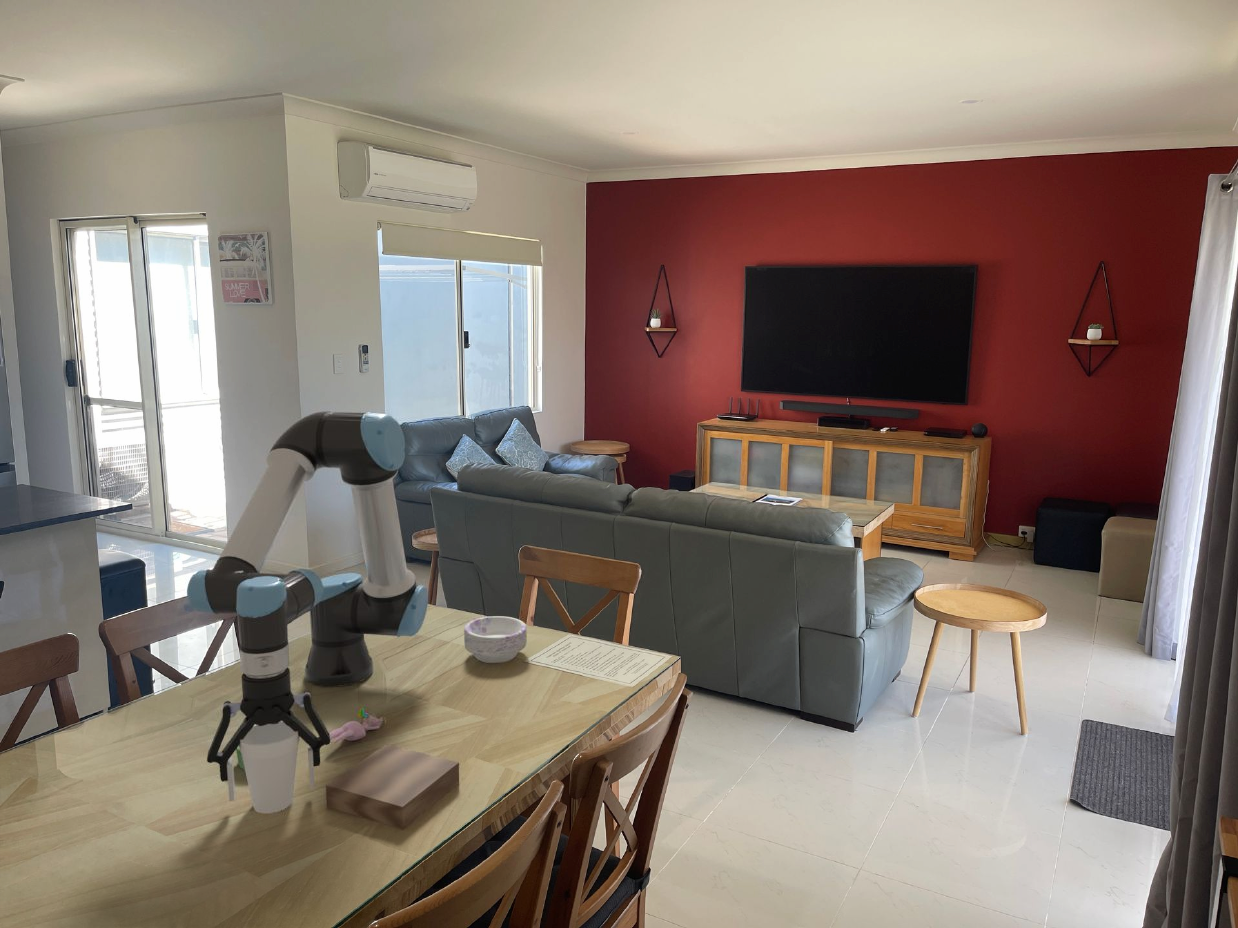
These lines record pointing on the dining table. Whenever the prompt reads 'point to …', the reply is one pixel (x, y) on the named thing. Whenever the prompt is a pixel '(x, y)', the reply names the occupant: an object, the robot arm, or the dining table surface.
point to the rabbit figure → (357, 727)
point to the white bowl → (495, 638)
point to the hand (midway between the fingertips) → (272, 789)
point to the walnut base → (393, 785)
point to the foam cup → (270, 765)
